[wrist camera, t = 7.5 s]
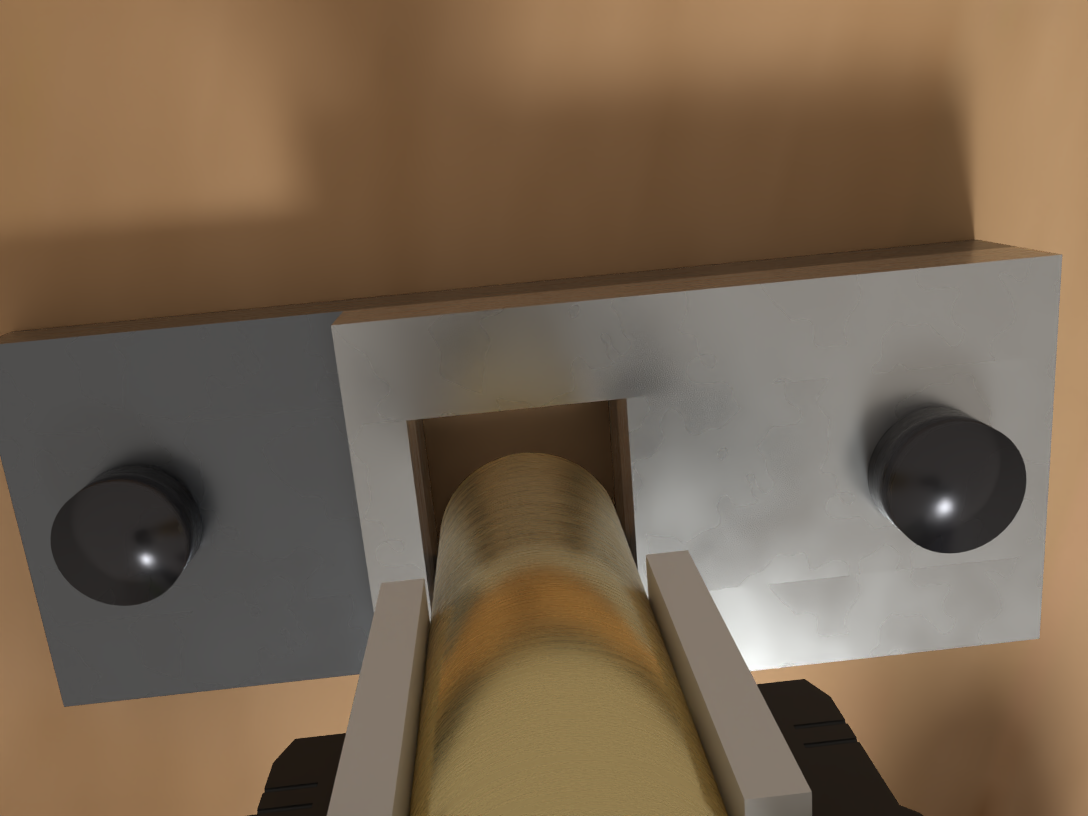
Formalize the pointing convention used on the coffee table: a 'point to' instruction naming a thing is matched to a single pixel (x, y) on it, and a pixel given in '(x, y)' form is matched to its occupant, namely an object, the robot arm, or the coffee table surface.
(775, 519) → the two-tone latch plate
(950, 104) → the coffee table surface
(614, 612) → the brass pin
